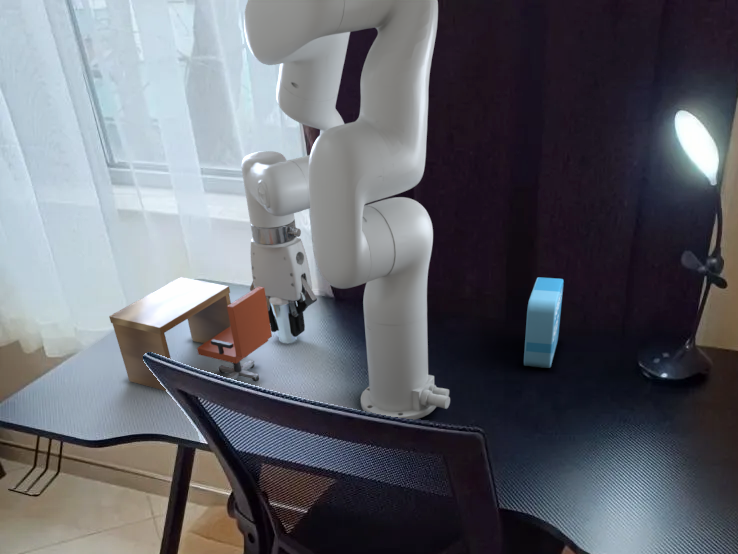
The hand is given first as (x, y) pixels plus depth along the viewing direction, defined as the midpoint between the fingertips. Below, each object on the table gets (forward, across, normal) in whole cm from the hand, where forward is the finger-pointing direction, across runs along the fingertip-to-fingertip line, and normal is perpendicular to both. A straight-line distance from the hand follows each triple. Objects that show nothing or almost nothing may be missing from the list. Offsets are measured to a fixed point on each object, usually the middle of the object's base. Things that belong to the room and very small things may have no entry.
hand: (288, 330), depth 146 cm
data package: (+2, -45, -13) cm, 47 cm away
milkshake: (+2, 0, 0) cm, 2 cm away
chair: (+2, 0, +16) cm, 16 cm away
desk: (+2, +12, +16) cm, 20 cm away
